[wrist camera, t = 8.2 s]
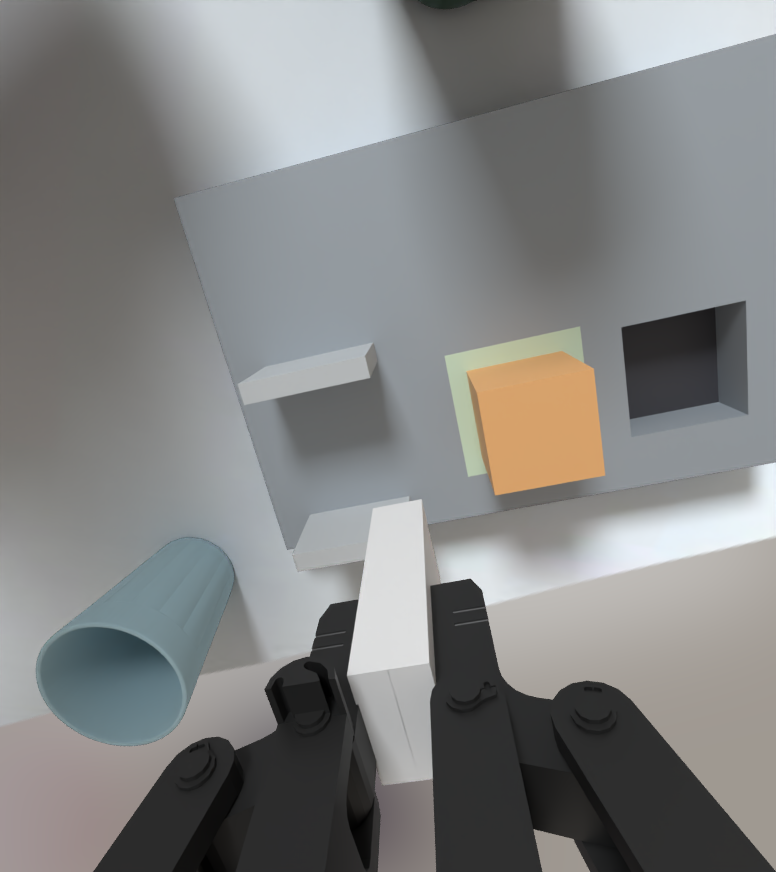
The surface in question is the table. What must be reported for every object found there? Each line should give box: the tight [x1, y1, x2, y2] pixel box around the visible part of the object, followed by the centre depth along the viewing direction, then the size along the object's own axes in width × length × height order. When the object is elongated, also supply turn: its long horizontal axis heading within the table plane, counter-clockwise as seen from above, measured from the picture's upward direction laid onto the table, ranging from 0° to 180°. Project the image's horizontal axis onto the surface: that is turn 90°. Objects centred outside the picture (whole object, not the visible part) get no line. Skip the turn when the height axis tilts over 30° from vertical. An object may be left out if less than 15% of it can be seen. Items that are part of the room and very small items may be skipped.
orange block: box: [466, 351, 605, 495], centre depth 25 cm, size 5×5×5 cm
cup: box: [36, 537, 234, 746], centre depth 30 cm, size 8×8×10 cm
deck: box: [174, 34, 776, 572], centre depth 26 cm, size 20×28×8 cm
